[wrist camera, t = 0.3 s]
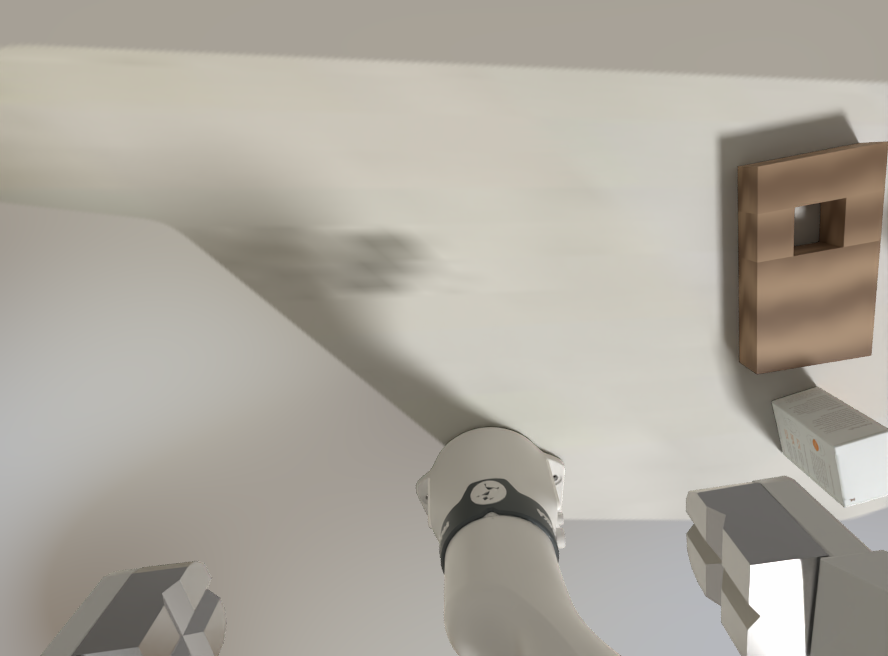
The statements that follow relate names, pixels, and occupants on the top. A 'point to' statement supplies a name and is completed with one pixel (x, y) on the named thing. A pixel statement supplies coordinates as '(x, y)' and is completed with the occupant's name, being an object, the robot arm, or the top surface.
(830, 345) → the walnut board
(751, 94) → the top surface
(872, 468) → the small box
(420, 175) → the top surface
